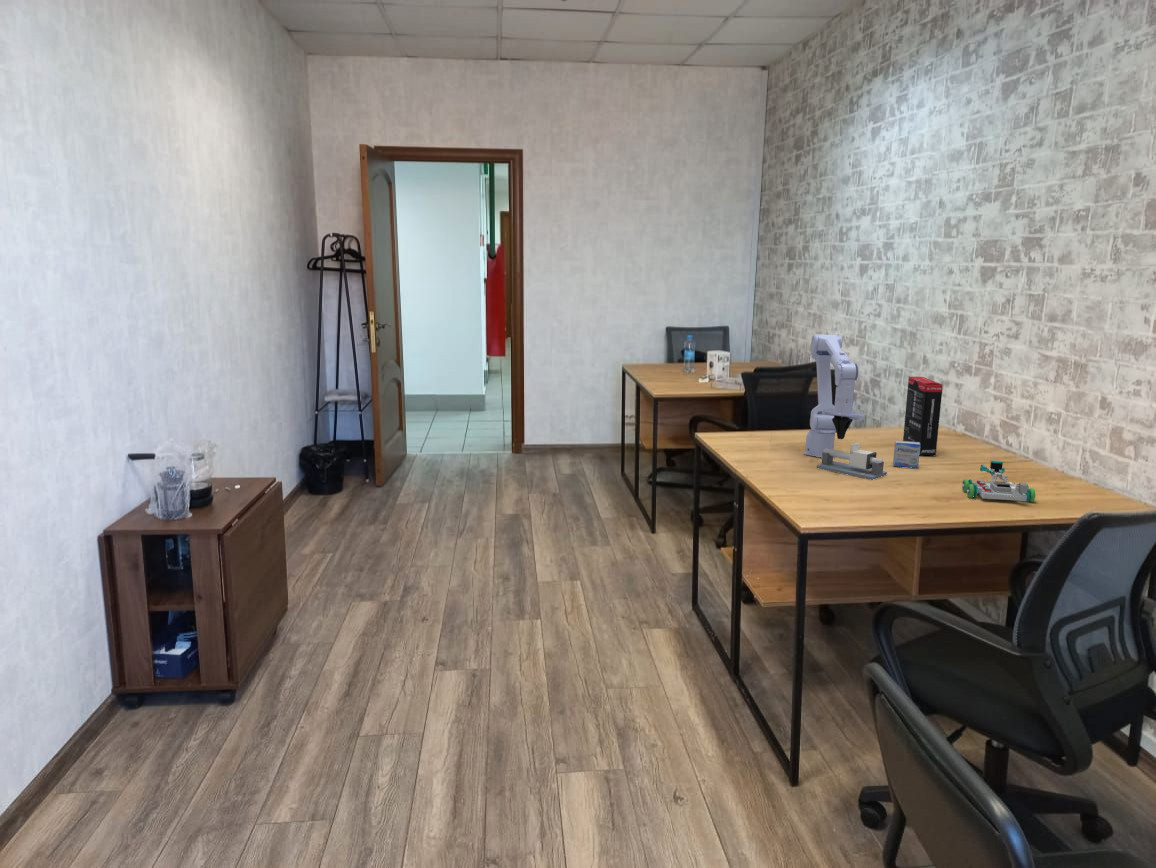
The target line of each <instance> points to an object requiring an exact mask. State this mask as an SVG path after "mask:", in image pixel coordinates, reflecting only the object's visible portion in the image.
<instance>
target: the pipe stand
mask: <svg viewBox="0 0 1156 868" xmlns="http://www.w3.org/2000/svg"><path fill="white" fill-rule="evenodd" d="M849 457H850V452H846V451H843V450H836V449H834V450H832V449H827V448H825V449H824V452H823V453H822V458H821V463H820V464H817V465H816V469H818V468H819V469H818V470H823V469H824V471H828V470H829V472H832V471H833V472H832V473H837V472H839V473H838V474H841V473H843V475H846V474H848V475H847V476H851V475H853V476H852V477H855V476H858V477H857V478H860V477H862V478H861V479H865V478H866V479H865V480H869V479H871V480H870V481H873V479H874V480H877V479H879V478H882V477H884V475H885V476H887V475H886V474H888V472H887V471H884V465H885V461H884V460H883V458H879V457H876V458H874V457H870V464H872V468H871V469H865V468H860V467H855V466H850V465H849V463H847V462H846V463H845V462H841V461H837V460H836V461H835V460H834V458H838V459H843V460H848V461H849ZM881 476H882V477H881ZM878 477H879V478H878ZM876 478H877V479H876Z"/></svg>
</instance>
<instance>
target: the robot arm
mask: <svg viewBox="0 0 1156 868" xmlns="http://www.w3.org/2000/svg"><path fill="white" fill-rule="evenodd" d="M842 347H843V338H842V335H841V334H839V333H837V334H821V333H819V334H818V333H814V334H813V335H812V337H811V340H810V355H811V359H813V360H814V361H815V364H816V379H817V402H818V403H817V405H816V406H815V407H813V408H812V410H811V411H810V419H809V426H810V430H808V431H807V435H806V437H805V438H806V439H805V452H804V453H803V455H805V456H811V457H815V456H816V457H817V458H820V457H821V459H822V453H823V452H824V449H825V448H827V449H832V450H835V449H834V448H835V439H836V438H835V437H837V439H838V440H844V439H845V436H846V433H847V431H848V429H849V427H850V426H851V424H852V422H853V421H859V422H863V421H865V416H866V415H865V414H863V413H858V412H853V405H854V393H855V392H854V391H855V384H856V383H855V382H856V381H857V380H858V378H859V365H858V364H857V363H856V362H852V361H851V358H849V355H848V354H847V353H846V352H845V351H842ZM831 365H832V367H833V368H834V384H835V385H836V386H835V399H834V404H833V392H832V391H833V390H832V371H831Z"/></svg>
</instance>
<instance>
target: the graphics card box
mask: <svg viewBox="0 0 1156 868" xmlns="http://www.w3.org/2000/svg"><path fill="white" fill-rule="evenodd" d="M907 381H908V382H907V392H906V402H905V403H906V404H905V414H904V427H903V436H902V441H908V442H919V443H920V445H921V446H920V455H937V448H938V438H939V437H938V436H939V426H940V417H941V406H942V397H943V396H942V395H943V388H944V385H943V384H942V383H940V382H937V381H934V380H932V379H929V378H927V377H923V376H911V375H909V376H908V380H907Z"/></svg>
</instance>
